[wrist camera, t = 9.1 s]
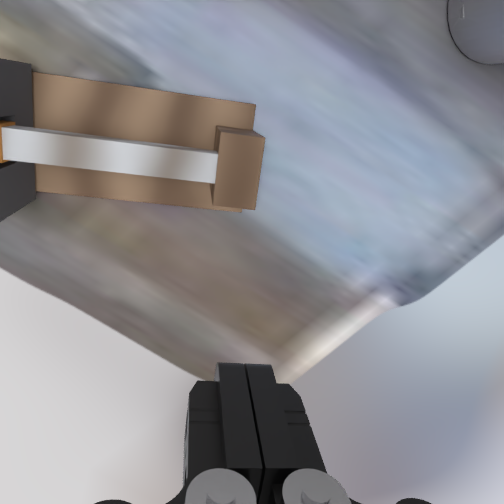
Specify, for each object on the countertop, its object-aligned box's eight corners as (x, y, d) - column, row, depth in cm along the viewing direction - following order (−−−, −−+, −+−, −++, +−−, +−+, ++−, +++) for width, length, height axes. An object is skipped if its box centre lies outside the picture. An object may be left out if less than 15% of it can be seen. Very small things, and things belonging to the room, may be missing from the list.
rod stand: (254, 104, 35) (270, 106, 28) (240, 209, 38) (251, 236, 31) (-67, 57, 31) (-147, 45, 24) (-55, 178, 34) (-122, 201, 27)
